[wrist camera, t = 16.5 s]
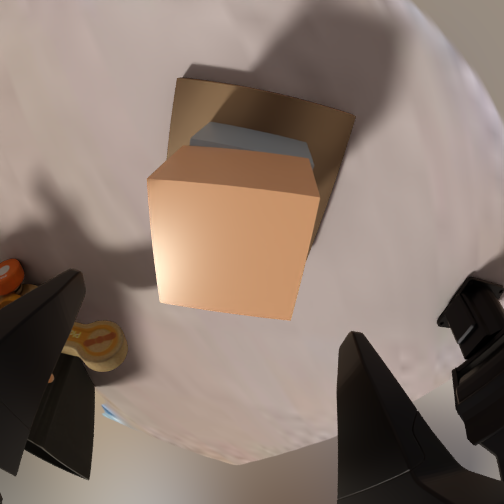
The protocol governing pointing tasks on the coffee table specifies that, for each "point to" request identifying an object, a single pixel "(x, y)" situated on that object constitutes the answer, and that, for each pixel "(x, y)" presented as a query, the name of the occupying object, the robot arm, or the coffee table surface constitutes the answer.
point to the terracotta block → (232, 229)
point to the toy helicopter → (82, 335)
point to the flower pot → (65, 419)
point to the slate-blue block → (248, 140)
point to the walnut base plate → (265, 124)
